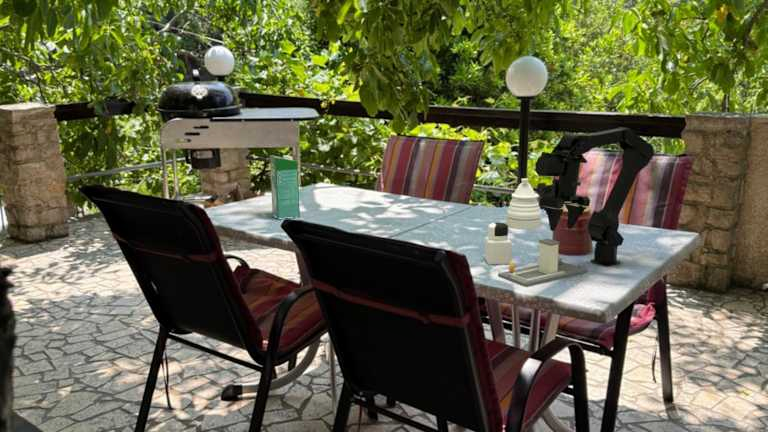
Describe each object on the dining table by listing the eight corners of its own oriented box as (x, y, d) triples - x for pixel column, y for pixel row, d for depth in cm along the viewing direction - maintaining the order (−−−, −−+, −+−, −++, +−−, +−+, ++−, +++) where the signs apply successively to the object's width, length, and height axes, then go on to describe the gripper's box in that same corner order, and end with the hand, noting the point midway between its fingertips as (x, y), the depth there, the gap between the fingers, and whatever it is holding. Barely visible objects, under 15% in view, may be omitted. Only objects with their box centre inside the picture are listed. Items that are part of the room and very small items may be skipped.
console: (558, 262, 226) (558, 250, 225) (587, 272, 216) (588, 259, 215) (498, 276, 213) (498, 263, 212) (526, 286, 203) (526, 273, 202)
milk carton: (300, 218, 292) (297, 155, 287) (277, 220, 289) (274, 157, 284) (294, 213, 301) (291, 153, 295) (272, 215, 297) (269, 154, 292)
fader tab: (546, 269, 215) (547, 238, 213) (558, 273, 211) (559, 241, 209) (537, 271, 214) (538, 240, 212) (549, 275, 210) (550, 243, 208)
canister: (562, 243, 248) (564, 192, 244) (598, 249, 240) (601, 196, 236) (544, 251, 238) (546, 198, 235) (581, 258, 230) (584, 203, 227)
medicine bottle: (506, 257, 232) (507, 220, 229) (511, 264, 225) (512, 226, 222) (484, 258, 232) (484, 221, 229) (488, 264, 225) (488, 226, 222)
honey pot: (541, 230, 267) (542, 181, 263) (505, 229, 269) (506, 180, 265) (541, 222, 279) (542, 175, 275) (507, 221, 281) (508, 174, 278)
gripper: (561, 173, 225) (554, 222, 227) (526, 173, 212) (519, 226, 214) (594, 178, 217) (586, 230, 220) (560, 179, 204) (552, 234, 207)
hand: (560, 229), depth 215 cm, fingers open, 9 cm apart
